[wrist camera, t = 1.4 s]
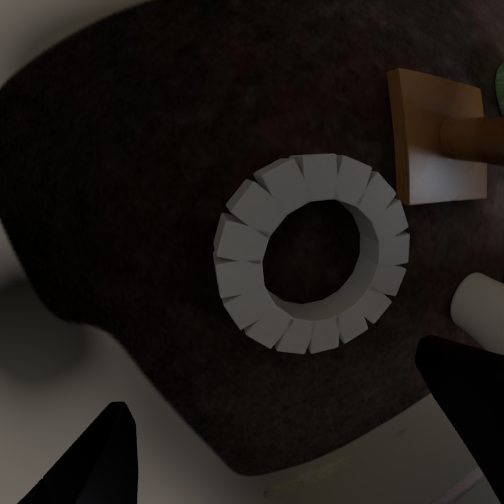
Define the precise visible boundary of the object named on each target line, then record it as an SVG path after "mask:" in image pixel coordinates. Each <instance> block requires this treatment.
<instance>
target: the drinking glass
mask: <svg viewBox="0 0 504 504" xmlns="http://www.w3.org/2000/svg"><path fill="white" fill-rule="evenodd" d="M450 313H451V318H452V320H453V322H454V323H455V324H456V325H457V326H458V327H460V328H461V329H463V330H464V331H465V332H466V333H468V334H469V335H470V336H471V337H472V338H473V339H474V340H475V341H476V342H477V343H479V344H480V345H481V346H482V347H483V348H484V349H485V350H486V351H490V352H494V353H497V354H501V355H504V283H501V282H499V281H497V280H494V279H492V278H490V277H488V276H486V275H484V274H482V273H472V274H470V275H468V276H467V277H466V278H465V279H464V280H463V281H462V282H461V283H460V285H459V286H458V288H457V289H456V291H455V293H454V296H453V299H452V302H451V309H450Z"/></svg>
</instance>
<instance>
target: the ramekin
mask: <svg viewBox="0 0 504 504" xmlns="http://www.w3.org/2000/svg"><path fill="white" fill-rule="evenodd" d="M495 85H496V95H497V101H498V105H499V109H500V112H501V115H502V117H504V63H503V64H501V65H500V66H499V68H498V70H497V73H496V80H495Z"/></svg>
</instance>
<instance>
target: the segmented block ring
mask: <svg viewBox="0 0 504 504" xmlns="http://www.w3.org/2000/svg"><path fill="white" fill-rule="evenodd" d="M371 170H372V167H370V166H368V165H366V164H363V163H361V162H359V161H357V160H354V159H352V158H349V157H347V156H345V155H336V154H309V155H294V156H289V159H279V160H277V161H275V162H273V163H271V164H269V165H268V166H266V167H264V168H262V169H260V170H258V171H256V172H255V173H254V174H253V175H254V177H255V179H256V181H257V182H258V184H259V185H258V184H257V183H256V182H254V181H251V180H248V179H246V180H245V181H244V182H243V184H242V185H241V186H240V187H239V189H238V190H237V191H236V192H235V194H234V195H233V196H232V197H231V199H230V200H229V201H228V203H227V204H226V206H227V208H228V209H229V211H230V212H231V213H232V214H233V215H231V214H227V213H222V214H221V217H220V221H219V224H218V228H217V232H216V235H215V239H214V248H215V251H213V257H214V264H215V270H216V277H217V283H218V288H219V294H220V298H222V300H223V305H224V307H225V308H226V310H227V311H228V313H229V314H230V316H231V317H232V319H233V320H234V322H235V323H236V325H237V326H238V327H239V329H240V330H242V329H243V328H244V330H245V333H246V335H247V336H249V337H250V338H252V339H254V340H256V341H257V342H259V343H261V344H263V345H264V346H266V347H268V348H271V347H272V346H273V345H275V348H276V350H277V351H281V352H289V353H298V354H304V353H305V351H306V349H307V347H308V349H309V351H310V353H311V354H313V353H317V352H321V351H325V350H329V349H333V348H336V347H338V343H339V338H340V339H341V340H342V341H343V343H347V342H349V341H350V340H352V339H353V338H355V337H356V336H358V335H360V334H361V333H363V332H364V331H366V330H367V329H368V326H367V323H366V321H365V318H367V319H368V320H369V321H370V322H372V323H373V324H374V323H375V322H376V321H377V320H378V318H379V317H380V316H381V315H382V314H383V312H384V311H385V310H386V309H387V308H388V306H389V305H390V304H391V300H390V299H389V298H388V297H386V296H385V295H384V294H388V295H393V296H396V294H397V292H398V289H399V287H400V285H401V282H402V280H403V277H404V275H405V272H406V269H405V268H403V267H402V266H400V265H399V264H404V263H408V256H409V239H410V234H408V233H406V232H403V230H405V229H406V228H408V223H407V220H406V217H405V213H404V210H403V207H402V204H401V201H400V200H398V199H394V197H395V195H396V192H395V191H394V190H393V189H392V188H391V186H390V185H389V184H388V183H387V182H386V181H385V179H384V178H383V177H382V176H381V175H380V174H379V173H378V172H373V171H371ZM331 199H334V200H337V201H339V202H340V203H341V204H342V205H343V206H344V207H345V208H346V209H347V210H348V211H349V212H350V213H351V214H352V215H353V216H354V219H355V221H356V224H357V227H358V229H359V232H360V255H359V257H358V260H357V263H356V266H355V268H354V271H353V274H352V275H351V276H350V277H349V279H348V280H347V281H346V282H345V283H344V285H343V286H342V287H341V288H340V289H339V290H338V291H336V292H335V293H333V294H332V295H330V296H328V297H327V298H325V299H323V300H320V301H316V302H311V303H306V304H298V303H292V302H287V301H283V300H281V299H280V298H278V297H277V296H276V295H274V294H273V293H271V292H270V291H268V290H267V289H266V287H265V286H264V277H263V267H262V260H263V257H264V253H265V250H266V247H267V244H268V241H269V237H270V236H271V234H272V233H273V232H274V231H275V229H276V228H277V227H278V226H279V224H280V223H281V222H282V221H283V220H284V218H285V217H286V216H287V215H288V214H289V213H291V212H293V211H295V210H296V209H298V208H300V207H302V206H303V205H305V204H307V203H309V202H312V201H322V200H331ZM383 293H384V294H383ZM364 317H365V318H364Z"/></svg>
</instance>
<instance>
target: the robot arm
mask: <svg viewBox="0 0 504 504" xmlns="http://www.w3.org/2000/svg"><path fill="white" fill-rule="evenodd" d="M503 283H504V282H503ZM415 364H416V366H417V368H418V370H419V372H420V373H421V375H422V377H423V379H424V380H425V382H426V384H427V386H428V388H429V390H430V391H431V393H432V395H433V397H434V398H435V400H436V401H437V403H438V404H439V406H440V407H441V409H442V410H443V411H444V413H445V415H446V416H447V418H448V419H449V421H450V422H451V424H452V425H453V427H454V428H455V430H456V431H457V432H458V434H459V436H460V437H461V439H462V440H463V442H464V443H465V445H466V446H467V448H468V449H469V451H470V453H471V454H472V456H473V457H474V459H475V460H476V462H477V464H478V465H479V467H480V469H481V470H482V472H483V473H484V475H485V477H486V478H487V480H488V482H489V483H490V485H491V487H492V489H493V491H494V492H495V494H496V496H497V497H498V499H499V501H500V503H501V504H504V355H501V354H497V353H494V352H490V351H486V350H483V349H479V348H476V347H472V346H468V345H465V344H461V343H458V342H454V341H451V340H447V339H444V338H440V337H437V336H433V335H428V336H425V337H422V338H421V339H420V340H419V342H418V346H417V350H416V355H415ZM137 491H138V457H137V437H136V424H135V421H134V418H133V417H132V414H131V413H130V411H129V409H128V407H127V405H126V404H125V402H111V403H110V404H109V405H108V406H107V407H106V408H105V409H104V410H103V411H102V412H101V413H100V414H99V416H98V417H97V418H96V419H95V420H94V421H93V423H91V424H90V426H89V427H88V428H87V429H86V430H85V431H84V432H83V433H82V435H80V437H79V438H78V439H77V440H76V441H75V442H74V443H73V444H72V446H71V447H70V448H69V449H68V450H67V451H66V452H65V453H64V454H63V456H61V458H60V459H59V460H58V461H57V462H56V463H55V464H54V466H53V467H52V468H51V469H50V470H49V471H48V472H47V473H46V474H45V475H44V476H43V479H41V480H40V481H39V482H38V483H37V484H36V485H35V486H34V487H33V488H32V489H31V491H29V493H28V494H27V495H26V496H25V497H24V498H23V499H21V500H20V501H19V502H18V503H17V504H137Z"/></svg>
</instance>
